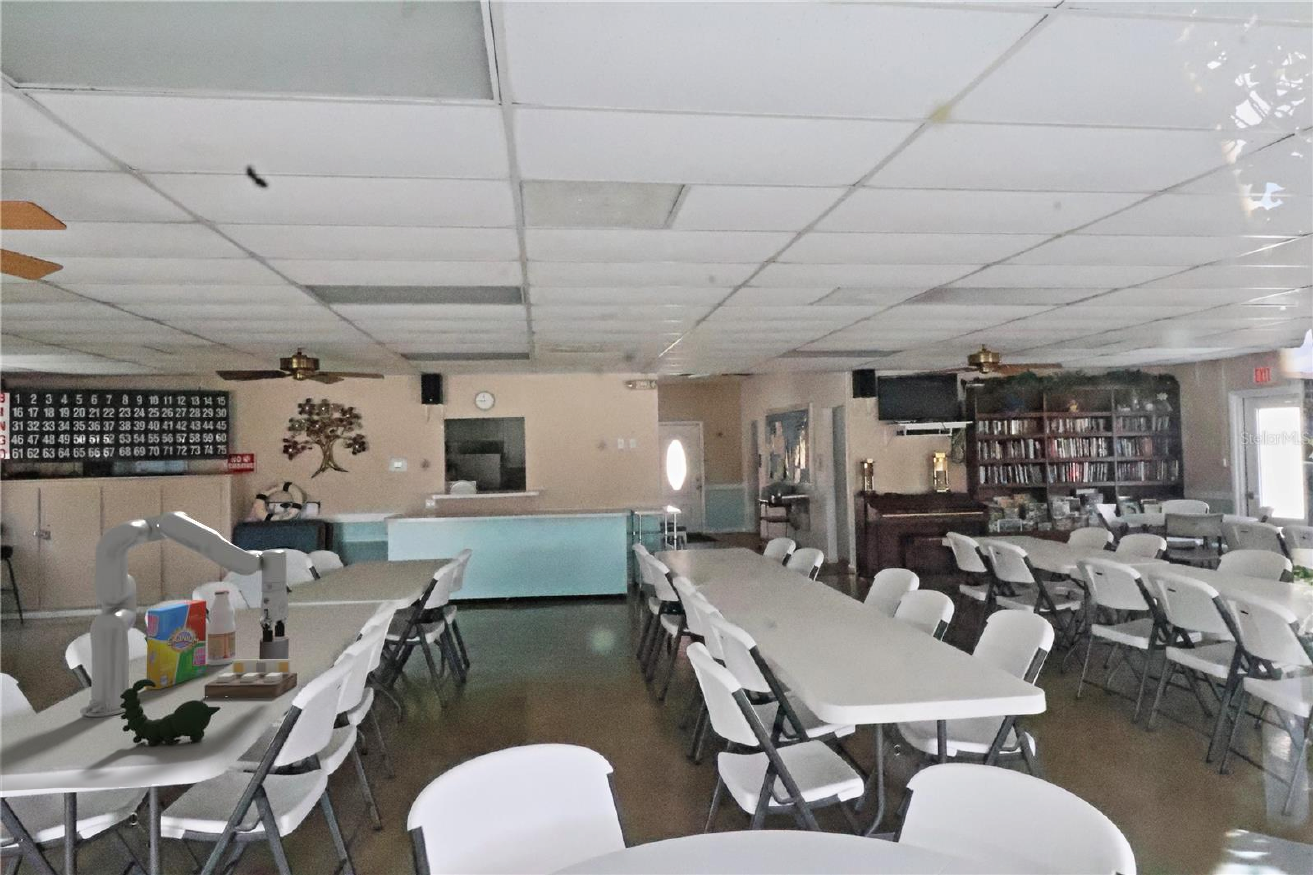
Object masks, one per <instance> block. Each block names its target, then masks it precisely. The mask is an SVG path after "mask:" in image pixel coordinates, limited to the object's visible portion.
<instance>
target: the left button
mask: <svg viewBox="0 0 1313 875" xmlns="http://www.w3.org/2000/svg"><path fill="white" fill-rule="evenodd" d="M217 679H218V682H231V681H233V680H235V679H236V673H233V672H224V673H223V674H220V675H218V676H217Z"/></svg>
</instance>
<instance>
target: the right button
mask: <svg viewBox="0 0 1313 875" xmlns="http://www.w3.org/2000/svg"><path fill="white" fill-rule="evenodd" d="M281 679H283V673H270V674H268V675H266V676H265V682H277V681H279V680H281Z"/></svg>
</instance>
